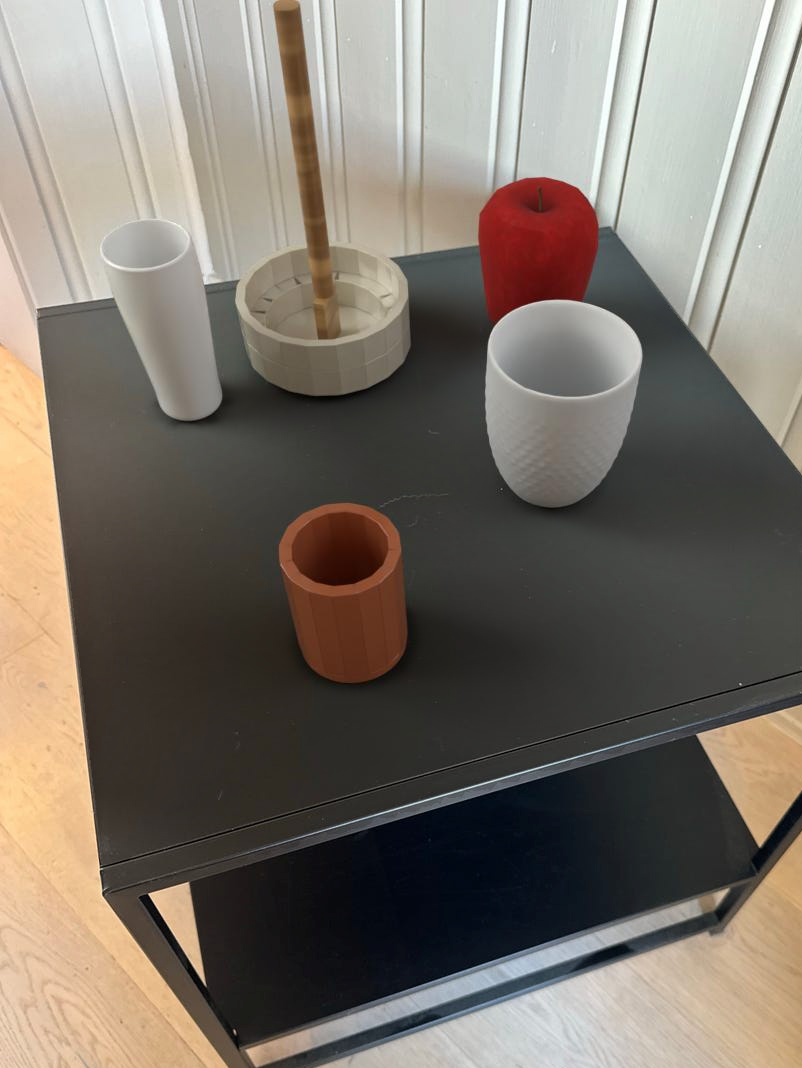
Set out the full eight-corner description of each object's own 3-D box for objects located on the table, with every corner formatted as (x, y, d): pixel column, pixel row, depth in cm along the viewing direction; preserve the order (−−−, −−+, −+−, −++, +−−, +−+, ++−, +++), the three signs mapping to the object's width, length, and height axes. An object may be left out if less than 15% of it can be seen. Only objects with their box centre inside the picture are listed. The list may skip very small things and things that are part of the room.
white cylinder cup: (218, 435, 79) (174, 275, 67) (140, 424, 80) (82, 265, 67) (242, 382, 83) (205, 222, 71) (168, 372, 83) (118, 212, 71)
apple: (570, 373, 85) (587, 232, 73) (461, 348, 86) (462, 207, 75) (598, 304, 90) (618, 164, 79) (496, 282, 92) (501, 142, 81)
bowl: (223, 386, 83) (208, 328, 78) (282, 288, 91) (272, 230, 86) (383, 416, 81) (379, 358, 76) (429, 313, 89) (427, 255, 84)
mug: (457, 412, 81) (458, 277, 71) (579, 393, 83) (598, 259, 72) (501, 540, 73) (510, 410, 62) (636, 517, 75) (666, 386, 64)
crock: (285, 670, 66) (260, 581, 58) (321, 587, 70) (303, 493, 62) (389, 693, 65) (380, 606, 57) (419, 607, 69) (414, 515, 61)
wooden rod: (334, 353, 84) (291, 16, 62) (315, 350, 84) (265, 12, 62) (345, 331, 86) (307, -4, 64) (326, 328, 86) (282, -8, 64)
